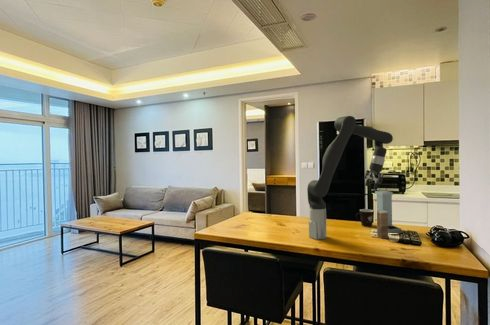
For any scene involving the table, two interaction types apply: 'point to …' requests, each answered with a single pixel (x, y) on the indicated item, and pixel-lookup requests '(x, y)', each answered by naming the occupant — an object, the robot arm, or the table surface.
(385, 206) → the post
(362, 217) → the coffee mug
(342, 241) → the table surface
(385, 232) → the rail block
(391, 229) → the bracket
